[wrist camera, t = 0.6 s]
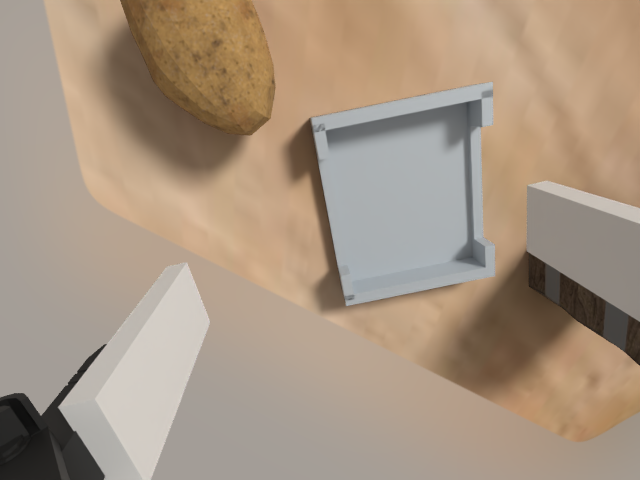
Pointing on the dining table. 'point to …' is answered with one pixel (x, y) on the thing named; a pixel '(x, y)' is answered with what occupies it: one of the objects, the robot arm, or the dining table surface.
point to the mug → (586, 307)
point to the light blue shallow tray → (406, 192)
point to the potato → (207, 59)
